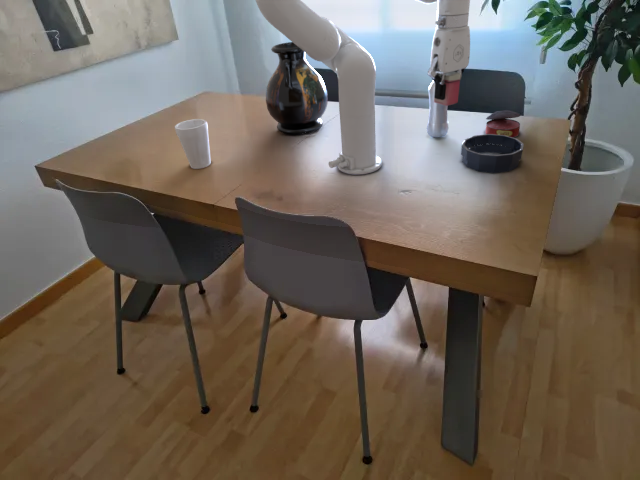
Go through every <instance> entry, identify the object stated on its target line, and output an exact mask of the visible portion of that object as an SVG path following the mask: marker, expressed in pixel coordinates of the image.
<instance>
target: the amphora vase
mask: <svg viewBox="0 0 640 480" xmlns="http://www.w3.org/2000/svg"><path fill="white" fill-rule="evenodd" d="M270 51H271V52H272V53H274V54H276V55H277V57H278V65H277V67H276V69H275V70H274V72H273V73H272V74H271V76H270V78H269V80H268V82H267V86H266V91H265V104H266V109H267V112H268V113H269V115H270V117H271V118H272V119H273V120H274V121H276V122H277V126H276V129H277V130H278V132H280V133H281V134H285V135H288V136H303V135H307V134H311V133H314V132H316V131H318V130H319V129H321V127H322V126H323V123H324V122H323V120H322V117H323V115H324V114H325V112H326V110H327V107H328V104H329V103H328V102H329V101H328V90H327V87H326V85H325V82H324V80H323V78H322V76H321V75H320V74H319V73H318V72H317V71H316V70H315V69H314V67H312V66H311V65H310V64H309V62H308V61H307V59H306V53H305V52H304V51H303V50H302V49H301V48H299V47H298V46H297V45H296V44H294V43H293V42H292V41H288V42H283V43H279V44H278V43H277V44H275V45H273V46H271V49H270Z"/></svg>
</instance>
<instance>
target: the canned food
mask: <svg viewBox="0 0 640 480" xmlns="http://www.w3.org/2000/svg"><path fill="white" fill-rule="evenodd" d="M520 117H521V114H520V113H518V112H517V111H516V112H515V111H513V110H507V109H505V110H504V109H503V110H496V111H494V112H493V113H491V114H490V115H488V116H487V117H486V118H485V120H488V121H487V122H486V123H485V124H486V125H485V131H484V133H485V134H495V135H505V136H509V137H513V138H516V137H518V136H519V134H520V128H521V122H520V121H518V120H516V119H517V118H520Z"/></svg>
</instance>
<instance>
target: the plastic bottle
mask: <svg viewBox="0 0 640 480" xmlns="http://www.w3.org/2000/svg"><path fill="white" fill-rule="evenodd" d="M427 91H428V92H427V93H428V103H429V111H428V112H429V113H428V114H429V115H428V120H427V125H426V134H427V135H428V136H429V137H432V138H443V137H445V136H447V134H448V133H449V120H448V106H449V105H448V106H445V105H442V104H439V103H435V102H434V94H435V83H434V82H433V81H432V82H431V83H430V85H428V89H427Z"/></svg>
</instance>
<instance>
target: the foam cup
mask: <svg viewBox="0 0 640 480" xmlns="http://www.w3.org/2000/svg"><path fill="white" fill-rule="evenodd" d="M174 131H175V134H176V136H177V138H178V141H179V142H180V144H181V145H180V146H181V147H182V149H183V152H184V154H185V158H186V160H187V162H188V164H189V166H190V168H191V169H194V170H198V169H204V168H207V167H209V166H210V165H211V163H212V162H211V161H212V159H211V150H210V149H211V148H210V139H209V138H210V137H209V125H208V121H207V120H206V119H202V118H193V119H187V120H183V121H180V122H178V123H176V124H175V125H174Z"/></svg>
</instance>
